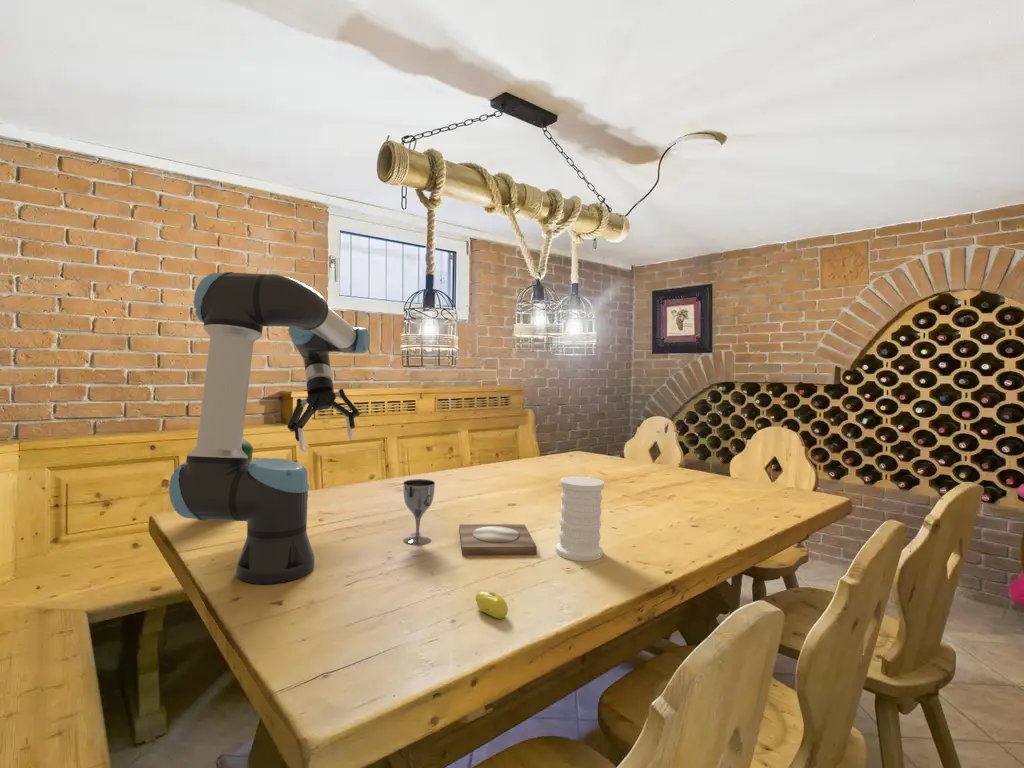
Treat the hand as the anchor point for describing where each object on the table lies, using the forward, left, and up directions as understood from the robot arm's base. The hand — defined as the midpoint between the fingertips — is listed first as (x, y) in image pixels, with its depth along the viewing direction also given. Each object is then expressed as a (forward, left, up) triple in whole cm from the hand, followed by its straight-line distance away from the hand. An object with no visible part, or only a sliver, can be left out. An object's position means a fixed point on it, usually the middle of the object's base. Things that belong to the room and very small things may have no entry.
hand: (327, 444), depth 153 cm
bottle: (+4, +27, -21) cm, 35 cm away
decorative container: (-31, -67, -21) cm, 77 cm away
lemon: (-62, -42, -22) cm, 78 cm away
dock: (-23, -47, -21) cm, 56 cm away
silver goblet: (-21, -27, -21) cm, 40 cm away
